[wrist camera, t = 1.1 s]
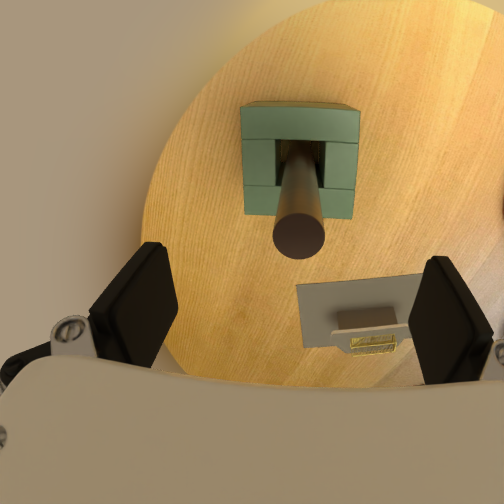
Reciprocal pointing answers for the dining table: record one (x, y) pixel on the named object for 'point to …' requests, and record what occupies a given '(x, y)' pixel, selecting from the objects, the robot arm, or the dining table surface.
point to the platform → (358, 313)
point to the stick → (299, 205)
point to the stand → (299, 128)
